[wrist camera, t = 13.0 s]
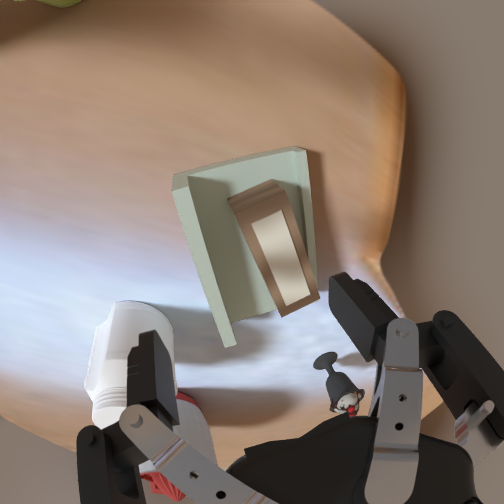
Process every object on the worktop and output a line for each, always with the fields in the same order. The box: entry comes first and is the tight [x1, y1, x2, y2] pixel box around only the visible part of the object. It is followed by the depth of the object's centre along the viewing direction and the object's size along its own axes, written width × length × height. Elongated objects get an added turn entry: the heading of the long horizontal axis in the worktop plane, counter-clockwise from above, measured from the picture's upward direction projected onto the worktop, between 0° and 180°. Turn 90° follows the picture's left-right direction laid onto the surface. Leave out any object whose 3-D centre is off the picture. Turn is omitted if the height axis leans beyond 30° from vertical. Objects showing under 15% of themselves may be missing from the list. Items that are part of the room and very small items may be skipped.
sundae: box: [313, 352, 365, 417], centre depth 44 cm, size 7×7×15 cm
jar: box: [84, 301, 178, 429], centre depth 31 cm, size 12×10×15 cm
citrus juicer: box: [139, 392, 218, 501], centre depth 38 cm, size 16×17×20 cm
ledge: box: [172, 146, 319, 348], centre depth 32 cm, size 20×14×6 cm
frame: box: [227, 179, 320, 317], centre depth 31 cm, size 14×5×5 cm, turn 21°
